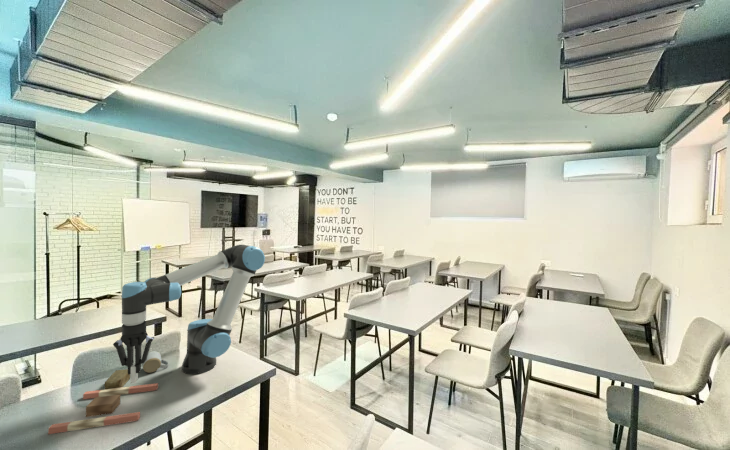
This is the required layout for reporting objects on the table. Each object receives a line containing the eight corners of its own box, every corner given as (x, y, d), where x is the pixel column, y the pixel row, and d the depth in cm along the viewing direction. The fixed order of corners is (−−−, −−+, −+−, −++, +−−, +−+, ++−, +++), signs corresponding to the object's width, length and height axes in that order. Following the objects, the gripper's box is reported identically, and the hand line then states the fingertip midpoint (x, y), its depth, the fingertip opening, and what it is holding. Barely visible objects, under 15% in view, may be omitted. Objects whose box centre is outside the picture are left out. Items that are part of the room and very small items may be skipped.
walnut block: (120, 404, 114) (120, 394, 114) (112, 414, 109) (112, 403, 109) (94, 407, 112) (95, 397, 112) (85, 417, 106) (86, 406, 106)
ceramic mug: (142, 375, 135) (143, 359, 135) (141, 368, 141) (142, 352, 141) (169, 369, 142) (170, 353, 142) (167, 363, 148) (168, 347, 148)
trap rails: (158, 387, 126) (158, 383, 126) (137, 420, 106) (138, 415, 106) (85, 396, 118) (86, 391, 118) (48, 434, 97) (48, 428, 97)
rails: (130, 391, 123) (130, 386, 123) (103, 425, 102) (103, 420, 102) (101, 394, 120) (101, 389, 120) (67, 431, 99) (67, 425, 99)
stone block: (102, 394, 120) (103, 382, 120) (115, 380, 131) (115, 369, 131) (120, 392, 122) (120, 380, 122) (130, 378, 133) (131, 367, 133)
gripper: (157, 317, 120) (157, 373, 120) (118, 320, 115) (118, 378, 116) (150, 324, 112) (150, 383, 113) (109, 327, 108) (109, 389, 109)
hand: (134, 381), depth 115 cm, fingers closed
